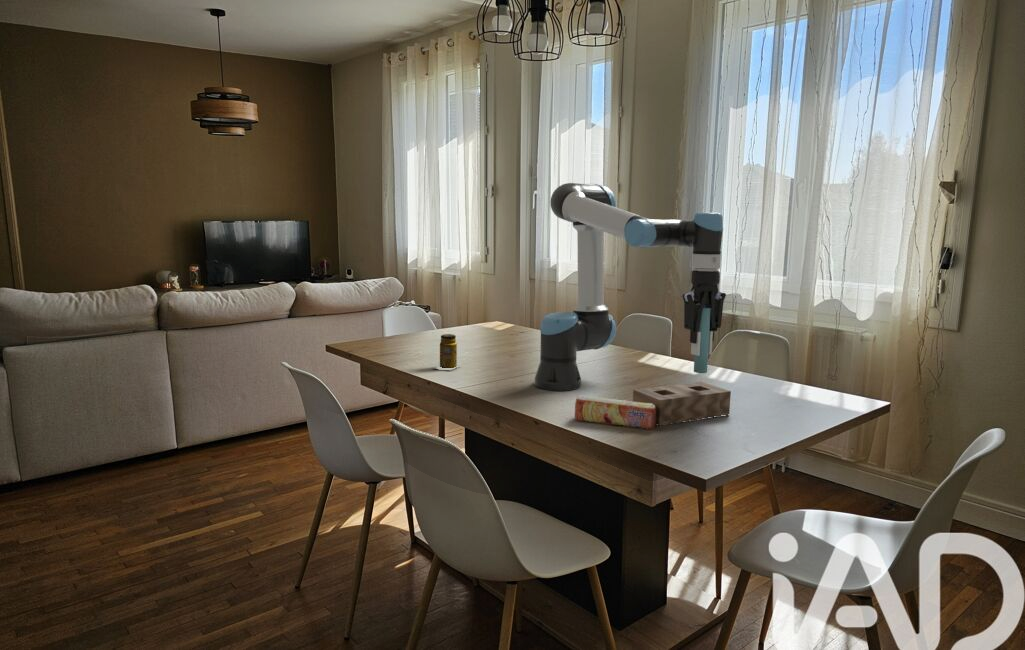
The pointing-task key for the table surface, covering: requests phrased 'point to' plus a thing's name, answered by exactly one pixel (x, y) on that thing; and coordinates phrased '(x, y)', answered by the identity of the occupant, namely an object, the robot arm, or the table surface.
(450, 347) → the condiment
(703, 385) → the hole block
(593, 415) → the snack package
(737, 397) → the table surface
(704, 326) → the peg
